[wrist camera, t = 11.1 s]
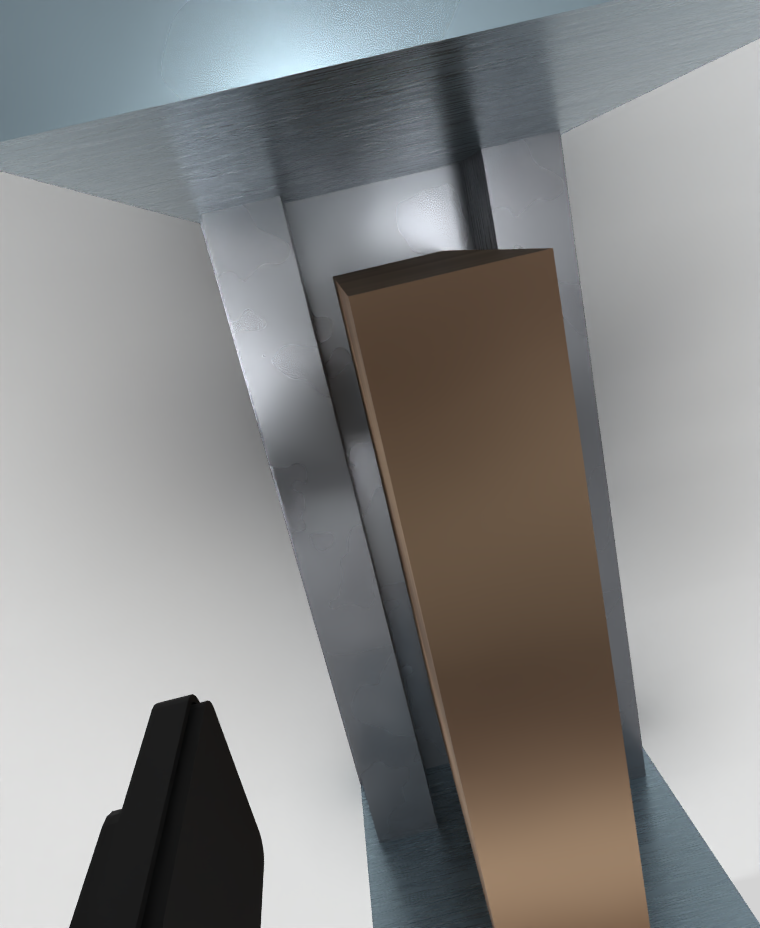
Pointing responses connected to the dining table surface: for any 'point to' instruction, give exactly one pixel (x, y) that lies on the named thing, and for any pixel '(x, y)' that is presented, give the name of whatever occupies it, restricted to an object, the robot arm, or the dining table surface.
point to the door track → (319, 315)
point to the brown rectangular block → (502, 572)
